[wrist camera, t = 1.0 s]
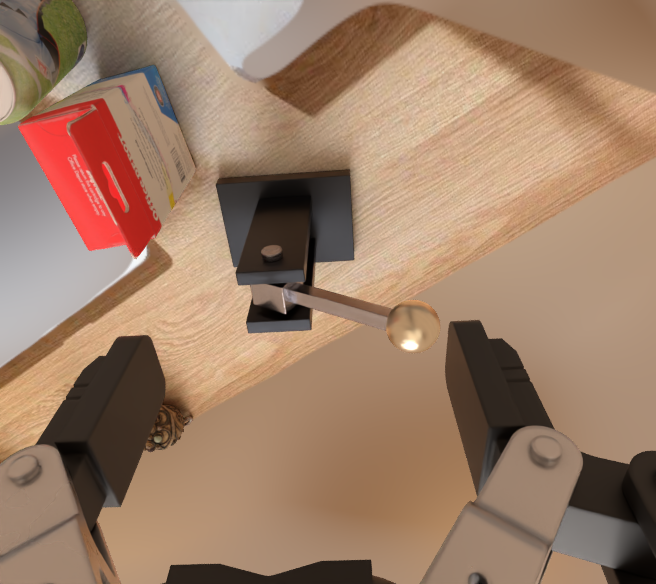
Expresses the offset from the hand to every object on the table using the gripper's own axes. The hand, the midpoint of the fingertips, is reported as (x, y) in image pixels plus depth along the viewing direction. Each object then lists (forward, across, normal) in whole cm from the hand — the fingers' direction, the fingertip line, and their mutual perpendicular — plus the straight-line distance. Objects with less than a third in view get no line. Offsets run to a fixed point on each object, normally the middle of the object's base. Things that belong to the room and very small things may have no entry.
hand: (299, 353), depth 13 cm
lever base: (+29, +4, +9) cm, 31 cm away
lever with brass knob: (+17, -2, +9) cm, 19 cm away
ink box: (+29, +14, 0) cm, 32 cm away
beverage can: (+29, +19, -6) cm, 35 cm away
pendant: (+27, +22, +35) cm, 50 cm away
